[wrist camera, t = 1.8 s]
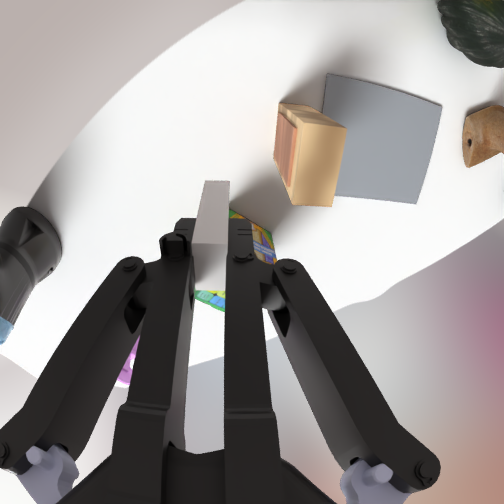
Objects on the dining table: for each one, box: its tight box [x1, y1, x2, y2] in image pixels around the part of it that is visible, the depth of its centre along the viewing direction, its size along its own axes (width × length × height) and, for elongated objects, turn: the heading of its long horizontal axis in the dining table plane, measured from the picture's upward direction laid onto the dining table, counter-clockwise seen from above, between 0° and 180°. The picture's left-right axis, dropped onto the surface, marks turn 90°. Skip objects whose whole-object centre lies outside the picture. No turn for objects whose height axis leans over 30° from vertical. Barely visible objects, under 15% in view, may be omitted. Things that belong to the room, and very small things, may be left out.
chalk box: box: [194, 209, 277, 312], centre depth 40 cm, size 9×9×15 cm
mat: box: [322, 74, 442, 204], centre depth 36 cm, size 20×18×1 cm
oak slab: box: [273, 103, 347, 207], centre depth 30 cm, size 4×8×14 cm, turn 176°
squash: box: [437, 0, 504, 68], centre depth 17 cm, size 14×15×15 cm
